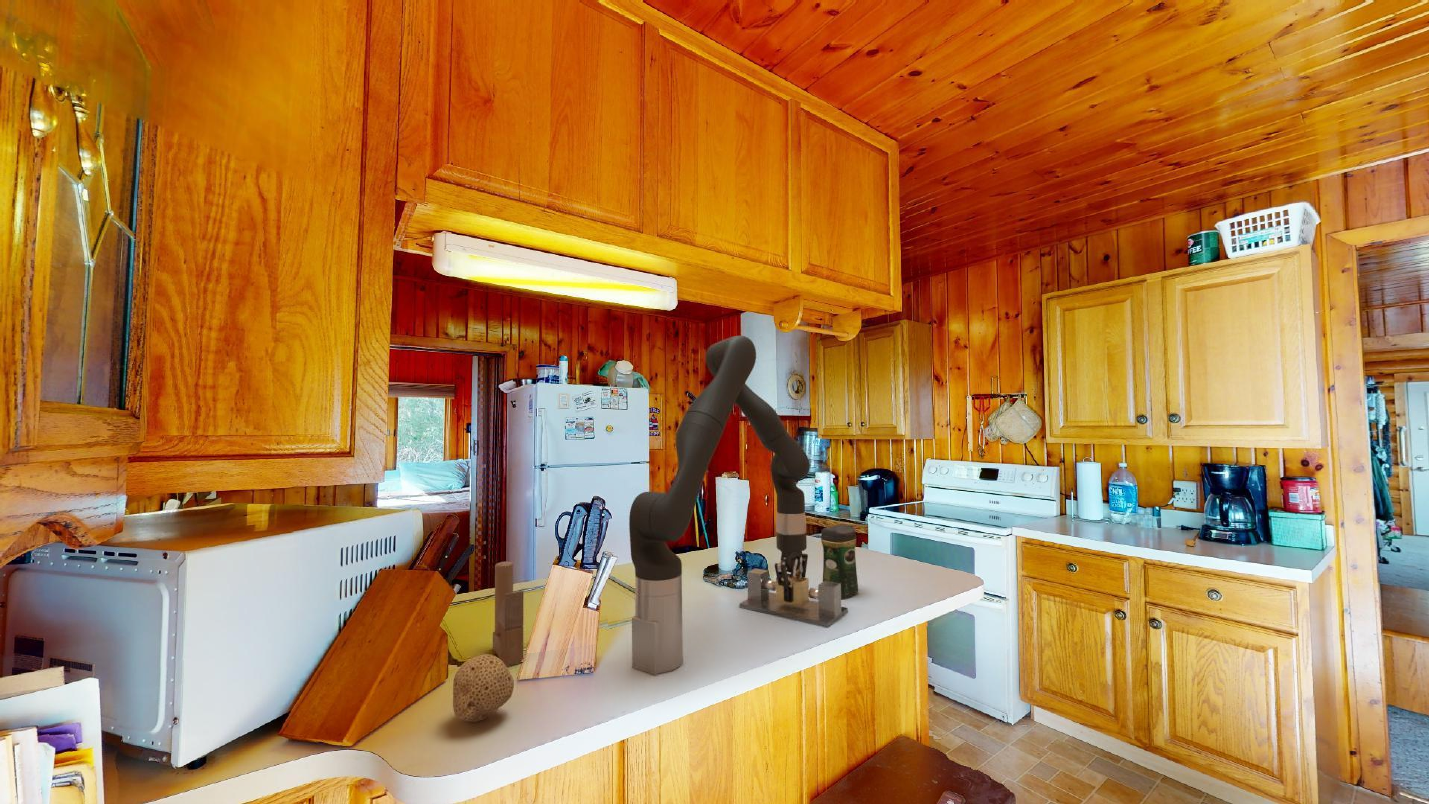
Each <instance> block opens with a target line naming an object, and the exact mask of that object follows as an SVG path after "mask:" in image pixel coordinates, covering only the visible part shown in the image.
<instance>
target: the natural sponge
mask: <svg viewBox="0 0 1429 804" xmlns="http://www.w3.org/2000/svg"><path fill="white" fill-rule="evenodd" d="M508 668H509V667H506V665H505V664H504V662H503V661H502V660H500V658H499V657H498V656H495V655H492V654H488V653H484V654H479V655H476V656H473V657H471V658H469V659H468V660H466V661H465V662H463V663H462V664H461V665H460V666H459V668H458V669H457V671H456V672H455V674H454V677H453V684H452V685H453V686H452V696H453V697H452V707H453V712H454V716H456V718H457V719H459V720H461V721H469V722H471V723H472V722H473V723H476V722H482V721H483V720H486V719H487V718H488V717H489V716H490V715H491V714H492V713H493V712H495V711H497V710H499V709H500V708H501V707H503V706H505V704H506V703H507V702H508V701H509V700H510V699H511V697H512V695H513V692H514V686H515V680H514V677H513V675H512V674H511V672H510V670H509V669H508Z"/></svg>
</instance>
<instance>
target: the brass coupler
mask: <svg viewBox="0 0 1429 804" xmlns="http://www.w3.org/2000/svg"><path fill="white" fill-rule="evenodd" d="M781 579H782V578H781ZM788 580H789V577H788ZM775 581H776V591H775V592H776V602H779V603H784V604H789V605H794V606H798V607H803V606H804V605H806V604H808V603H809V600H810V598H809V589H810V588H809V586H810V585H809V583H810V582H809V577H805V578H804V577H798V576H795V577H794V578H793V585H792V587H793V601H792V602H791V603H789V602H785V601H784V587H783V586H780V585H778V581H777V576H776V578H775Z"/></svg>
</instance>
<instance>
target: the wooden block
mask: <svg viewBox="0 0 1429 804" xmlns="http://www.w3.org/2000/svg"><path fill="white" fill-rule="evenodd" d="M524 595H525V594H524V590H520V591H514V563H513V562H512V561H501V562H498V563H496V564H495V565H494V631H493V632H492V649H493V650H494V653H495V654H496V655H497V658H499V659H500V660H502V661H503V662H504V664H505V665H506V667H507V668H509V667H511V666H514V665H519V664H522V663H521V661H522V659H523V660H524Z"/></svg>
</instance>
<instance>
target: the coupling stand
mask: <svg viewBox="0 0 1429 804" xmlns="http://www.w3.org/2000/svg"><path fill="white" fill-rule="evenodd" d="M770 591H773V592H770ZM775 592H776V580H771V579H769V570H767V569H761V568H752V569H751V570H749V571H747V599H746V600H744V601H742V602H739V608H740V607H741V609H744V610H745V609H746V610H749V609H750V611H753V612H759V613H762V612H763V614H766V615H772V616H775V617H779V618H784V619H788V620H792V621H797V620H798V622H801V623H806V624H811V625H815V626H819V627H823V628H829V627H830V626H832V625H833V624H835V623H836V622H837V621H839V620H840V619H841V618H842V617H844V616H845V615H846V614H847V613H848V612H849V609H848V607H846V606H845V607H844V606H842V598H841V583H836V582H831V581H824V582H823V581H822V582H820V583H818V585H817V588H815V587H814V588H813V587H810V588H809V603H808V604H806V605H804V606H803V607H798V606H794V605H789V604H784V603H779V602H776V593H775ZM810 599H811V600H810ZM812 599H813V600H812ZM815 600H817V601H815Z"/></svg>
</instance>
